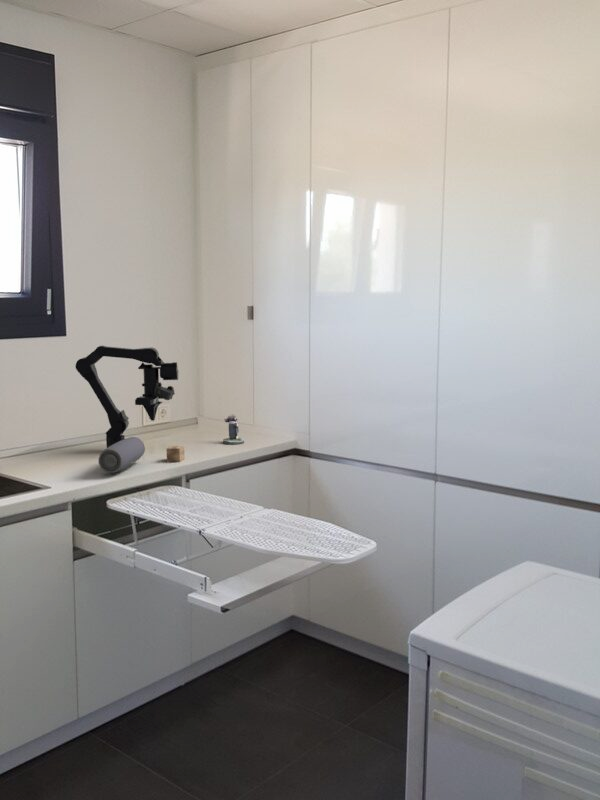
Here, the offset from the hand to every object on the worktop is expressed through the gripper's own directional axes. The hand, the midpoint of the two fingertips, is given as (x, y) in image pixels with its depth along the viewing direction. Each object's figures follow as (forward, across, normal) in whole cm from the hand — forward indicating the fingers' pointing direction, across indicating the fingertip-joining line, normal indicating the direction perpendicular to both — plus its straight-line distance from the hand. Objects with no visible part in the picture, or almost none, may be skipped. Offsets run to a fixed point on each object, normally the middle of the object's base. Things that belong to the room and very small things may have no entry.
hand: (152, 420), depth 310 cm
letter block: (+12, -15, -15) cm, 24 cm away
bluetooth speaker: (+12, -32, -2) cm, 34 cm away
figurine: (+12, +21, -26) cm, 36 cm away
